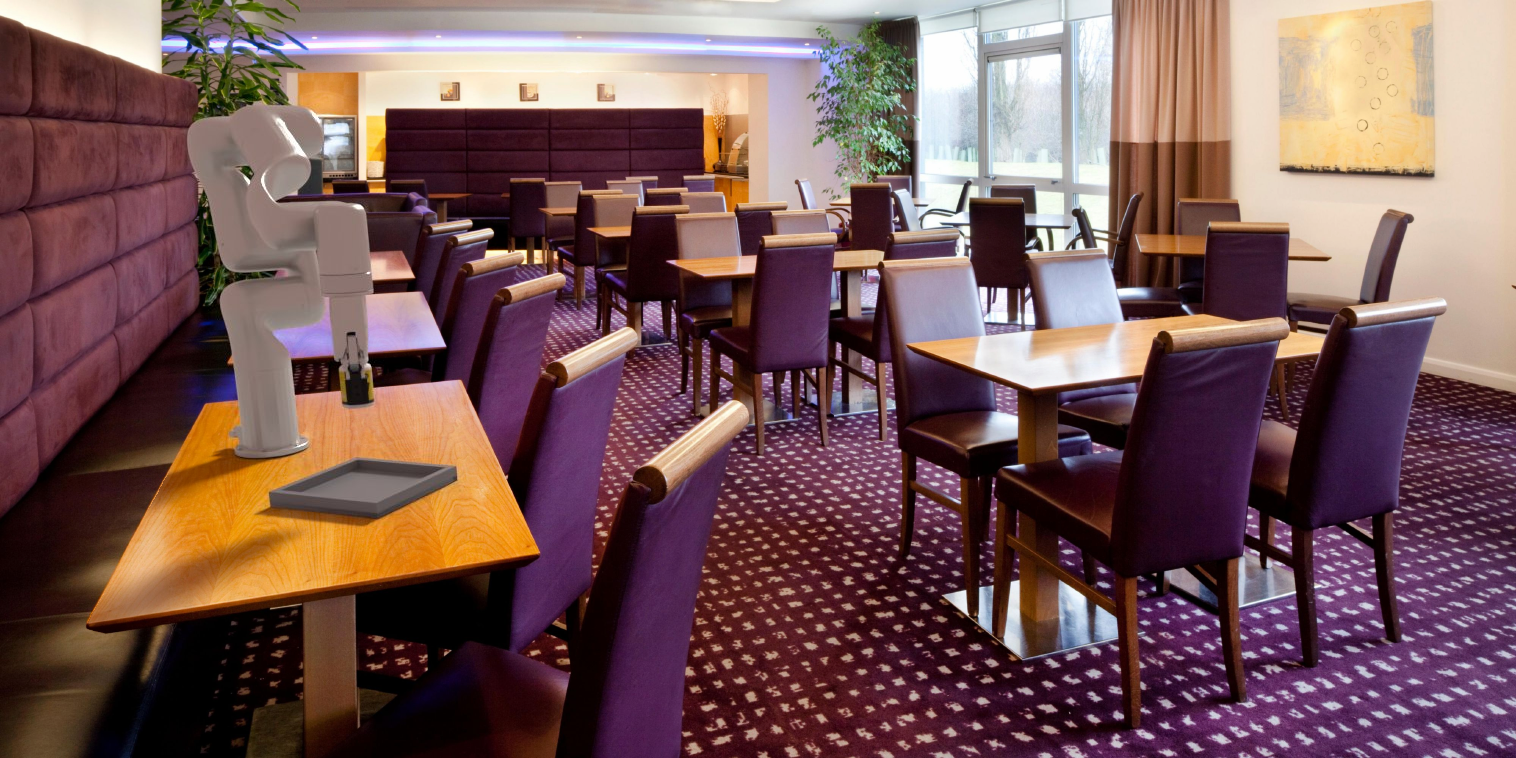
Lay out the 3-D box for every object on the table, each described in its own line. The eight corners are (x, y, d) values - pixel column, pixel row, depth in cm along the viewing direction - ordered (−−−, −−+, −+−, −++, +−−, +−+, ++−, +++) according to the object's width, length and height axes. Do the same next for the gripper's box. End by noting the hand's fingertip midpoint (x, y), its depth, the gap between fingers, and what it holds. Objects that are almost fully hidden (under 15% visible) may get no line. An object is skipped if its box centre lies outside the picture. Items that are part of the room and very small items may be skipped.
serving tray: (270, 506, 163) (268, 491, 162) (358, 470, 181) (356, 457, 181) (377, 518, 156) (376, 502, 156) (457, 479, 175) (456, 465, 174)
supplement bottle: (344, 410, 162) (338, 356, 161) (340, 404, 167) (335, 352, 165) (377, 406, 165) (371, 353, 163) (372, 401, 169) (367, 349, 167)
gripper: (321, 281, 168) (333, 392, 172) (319, 292, 153) (331, 414, 156) (371, 278, 171) (381, 388, 175) (374, 289, 155) (385, 409, 159)
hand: (358, 399), depth 165 cm, fingers closed on supplement bottle, 4 cm apart
